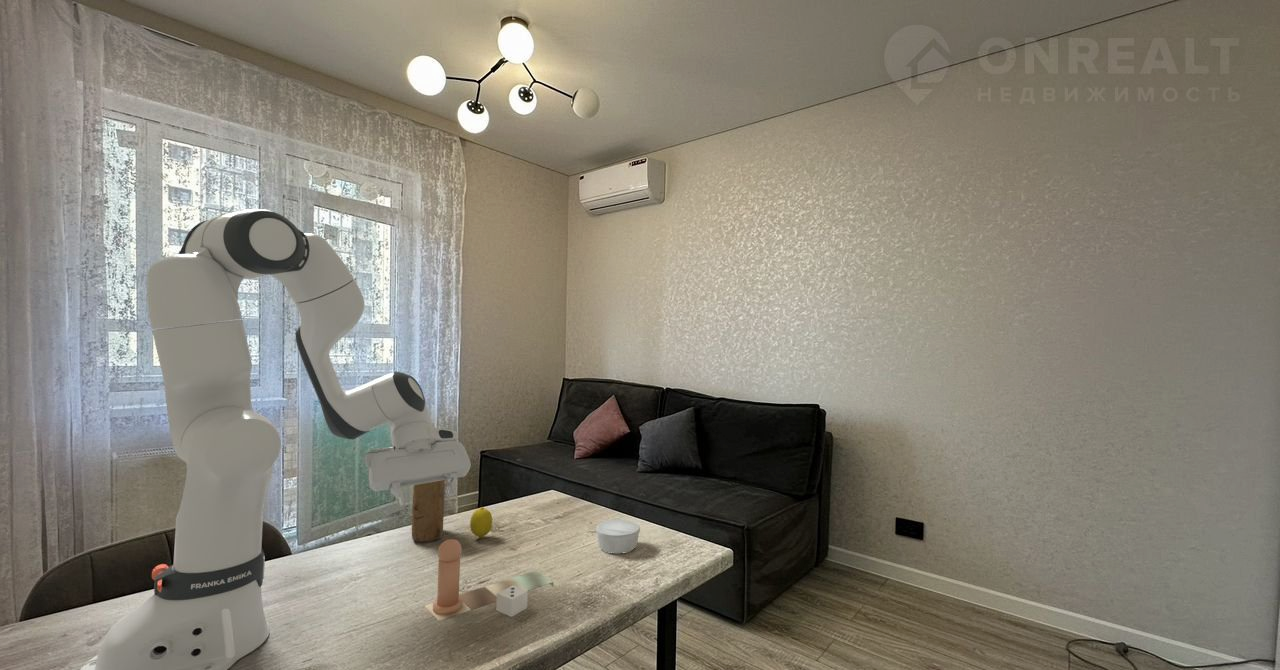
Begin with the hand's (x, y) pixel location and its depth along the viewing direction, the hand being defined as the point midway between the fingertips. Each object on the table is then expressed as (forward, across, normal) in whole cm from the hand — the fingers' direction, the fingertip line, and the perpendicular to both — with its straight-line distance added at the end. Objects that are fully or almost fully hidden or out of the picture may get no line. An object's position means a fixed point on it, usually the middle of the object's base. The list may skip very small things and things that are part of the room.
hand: (429, 499), depth 104 cm
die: (+27, +9, -1) cm, 29 cm away
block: (-7, +10, +34) cm, 36 cm away
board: (+21, +9, +4) cm, 23 cm away
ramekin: (+19, +44, +9) cm, 49 cm away
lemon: (0, +20, +27) cm, 33 cm away
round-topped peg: (+21, 0, +4) cm, 21 cm away
